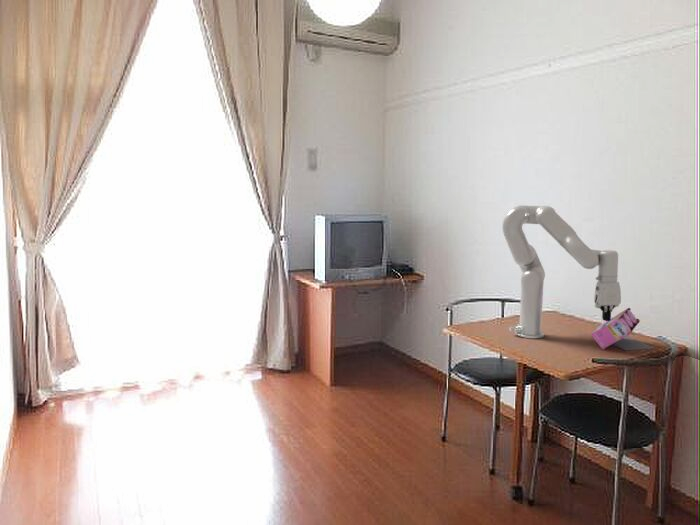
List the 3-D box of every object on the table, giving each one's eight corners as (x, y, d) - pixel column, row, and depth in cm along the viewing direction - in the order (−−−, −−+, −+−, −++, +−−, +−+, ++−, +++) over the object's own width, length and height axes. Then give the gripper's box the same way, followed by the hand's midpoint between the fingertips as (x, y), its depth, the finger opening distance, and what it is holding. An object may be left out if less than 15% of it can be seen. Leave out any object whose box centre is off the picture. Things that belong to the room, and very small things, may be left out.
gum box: (603, 321, 252) (629, 306, 244) (614, 336, 250) (641, 320, 242) (590, 334, 233) (618, 317, 225) (602, 350, 231) (631, 334, 223)
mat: (625, 350, 231) (625, 349, 231) (591, 334, 254) (591, 333, 254) (654, 348, 233) (654, 347, 233) (618, 333, 256) (618, 332, 256)
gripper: (597, 281, 232) (595, 323, 235) (629, 279, 234) (627, 321, 237) (586, 278, 239) (585, 319, 242) (617, 276, 242) (616, 317, 244)
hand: (606, 320), depth 239 cm, fingers closed
